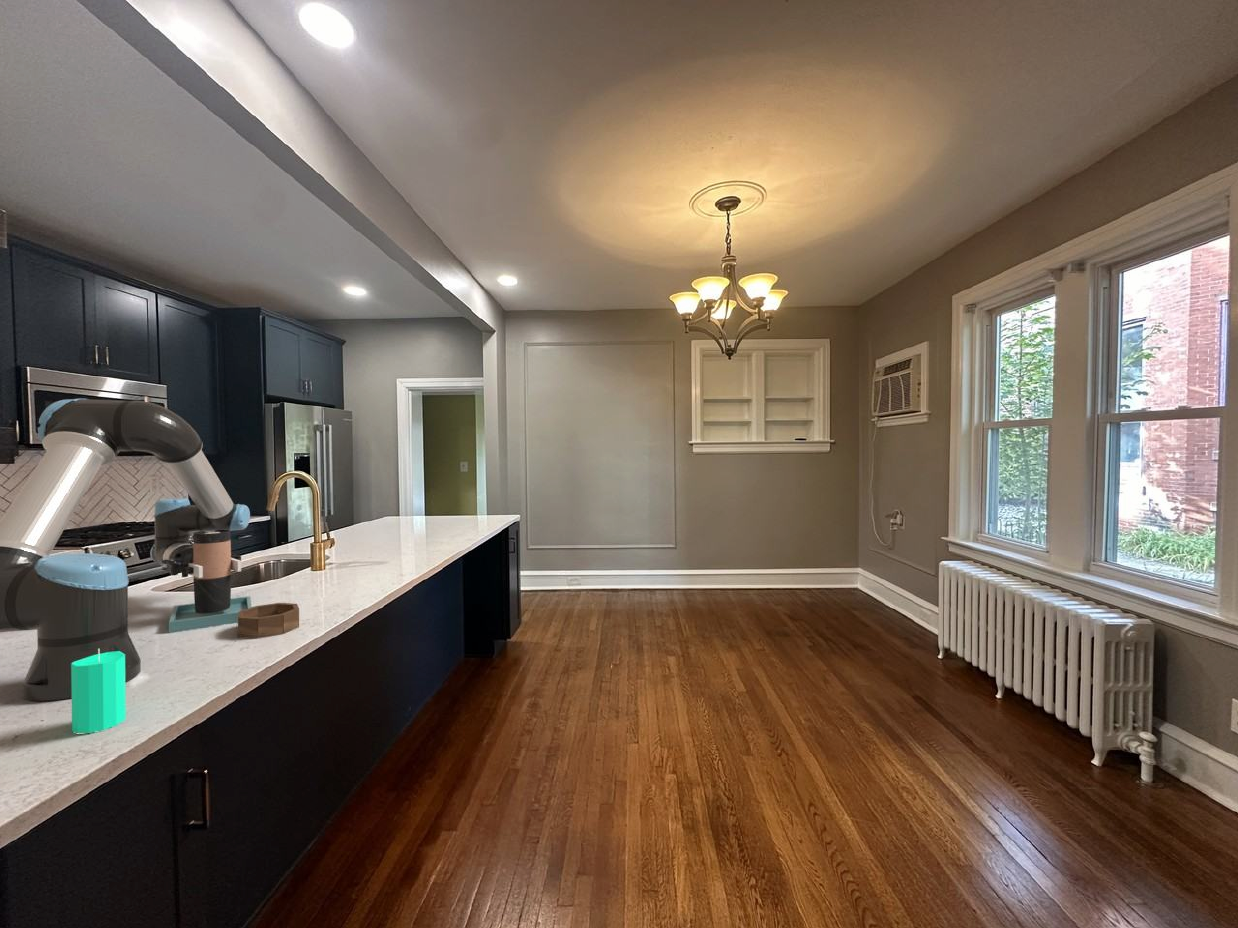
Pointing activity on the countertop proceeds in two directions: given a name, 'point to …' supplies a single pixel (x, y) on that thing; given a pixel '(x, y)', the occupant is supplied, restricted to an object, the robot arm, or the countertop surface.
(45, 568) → the robot arm
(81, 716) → the candle
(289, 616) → the walnut collar
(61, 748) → the countertop surface
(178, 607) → the slate tray
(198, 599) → the travel mug
